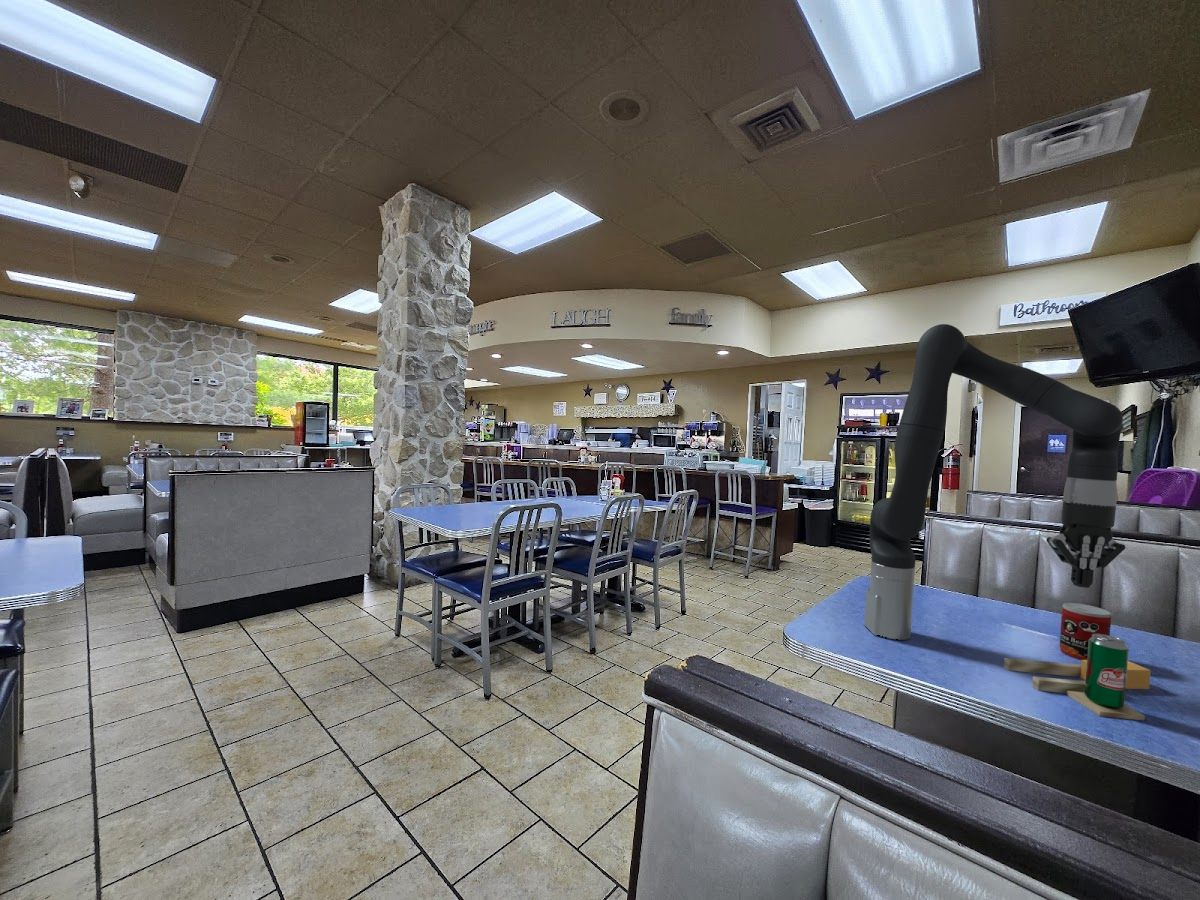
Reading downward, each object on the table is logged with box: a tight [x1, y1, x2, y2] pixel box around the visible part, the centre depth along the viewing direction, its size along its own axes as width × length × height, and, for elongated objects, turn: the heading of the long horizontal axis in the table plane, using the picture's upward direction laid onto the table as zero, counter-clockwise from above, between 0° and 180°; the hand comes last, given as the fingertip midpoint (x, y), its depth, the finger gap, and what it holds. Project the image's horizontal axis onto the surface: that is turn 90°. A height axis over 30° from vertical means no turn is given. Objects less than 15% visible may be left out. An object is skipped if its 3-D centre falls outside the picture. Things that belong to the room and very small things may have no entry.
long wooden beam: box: [1079, 660, 1152, 690], centre depth 98 cm, size 10×4×4 cm, turn 92°
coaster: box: [1066, 691, 1146, 721], centre depth 89 cm, size 7×7×1 cm
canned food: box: [1059, 602, 1112, 661], centre depth 111 cm, size 8×8×11 cm
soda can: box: [1084, 634, 1130, 709], centre depth 89 cm, size 5×5×12 cm
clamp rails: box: [1003, 657, 1086, 694], centre depth 98 cm, size 14×10×2 cm, turn 83°
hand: (1080, 586), depth 98 cm, fingers closed
